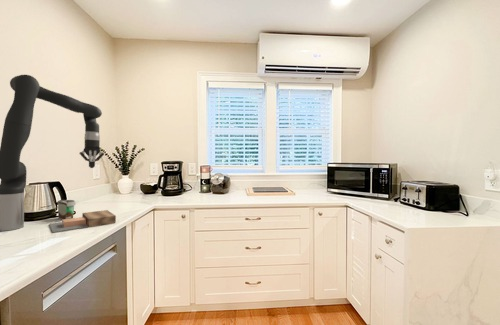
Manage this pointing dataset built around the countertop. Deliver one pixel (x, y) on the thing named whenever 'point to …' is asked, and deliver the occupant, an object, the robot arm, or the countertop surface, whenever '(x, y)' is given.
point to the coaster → (73, 222)
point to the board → (99, 218)
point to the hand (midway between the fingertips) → (91, 167)
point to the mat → (59, 227)
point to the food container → (66, 209)
